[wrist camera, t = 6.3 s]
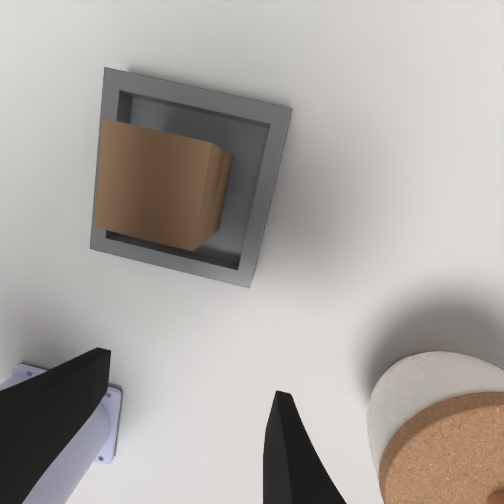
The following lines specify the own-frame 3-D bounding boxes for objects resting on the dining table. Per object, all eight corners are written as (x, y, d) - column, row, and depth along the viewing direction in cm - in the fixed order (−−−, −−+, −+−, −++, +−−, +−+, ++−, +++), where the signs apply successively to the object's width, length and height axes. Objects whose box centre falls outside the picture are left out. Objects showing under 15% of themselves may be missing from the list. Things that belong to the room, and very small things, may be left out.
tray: (109, 241, 21) (89, 249, 19) (125, 80, 19) (104, 67, 16) (252, 277, 21) (249, 288, 19) (290, 117, 18) (292, 108, 16)
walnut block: (148, 213, 20) (94, 227, 14) (158, 138, 18) (102, 117, 13) (218, 230, 20) (192, 251, 14) (233, 155, 18) (212, 142, 12)
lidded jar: (320, 393, 23) (347, 533, 14) (421, 296, 20) (538, 389, 11) (421, 467, 24) (510, 646, 14) (531, 383, 21) (724, 537, 12)
